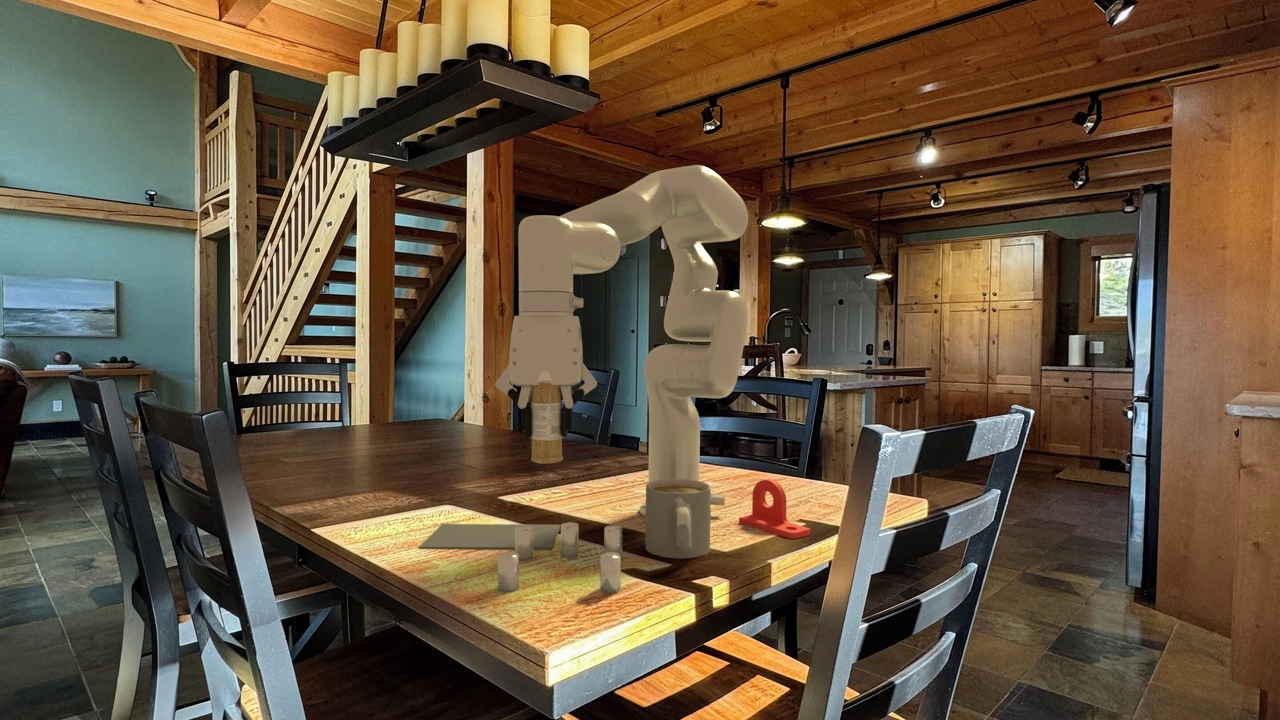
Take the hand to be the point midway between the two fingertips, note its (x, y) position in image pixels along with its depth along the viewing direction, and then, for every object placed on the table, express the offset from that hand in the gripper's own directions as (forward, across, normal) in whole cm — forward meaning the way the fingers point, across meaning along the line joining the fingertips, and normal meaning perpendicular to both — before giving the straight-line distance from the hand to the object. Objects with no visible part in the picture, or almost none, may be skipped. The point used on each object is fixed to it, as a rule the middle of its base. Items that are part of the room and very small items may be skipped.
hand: (546, 434), depth 93 cm
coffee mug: (+19, -19, -5) cm, 28 cm away
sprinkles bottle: (+4, 0, 0) cm, 4 cm away
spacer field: (+19, -3, +4) cm, 20 cm away
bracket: (+20, -37, -18) cm, 46 cm away
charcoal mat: (+19, +10, -12) cm, 25 cm away
